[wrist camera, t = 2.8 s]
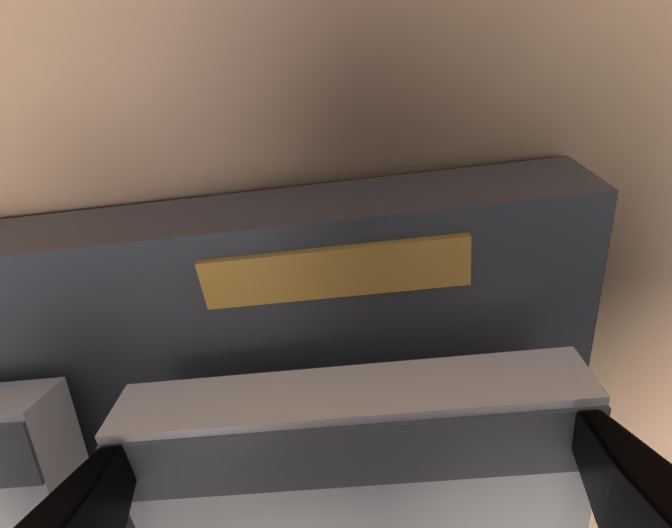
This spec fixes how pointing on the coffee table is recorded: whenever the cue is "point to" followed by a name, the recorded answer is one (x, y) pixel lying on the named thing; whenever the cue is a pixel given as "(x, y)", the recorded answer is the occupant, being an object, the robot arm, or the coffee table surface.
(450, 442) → the grey flat slab
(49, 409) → the rocker
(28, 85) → the coffee table surface
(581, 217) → the switch unit
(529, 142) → the coffee table surface
